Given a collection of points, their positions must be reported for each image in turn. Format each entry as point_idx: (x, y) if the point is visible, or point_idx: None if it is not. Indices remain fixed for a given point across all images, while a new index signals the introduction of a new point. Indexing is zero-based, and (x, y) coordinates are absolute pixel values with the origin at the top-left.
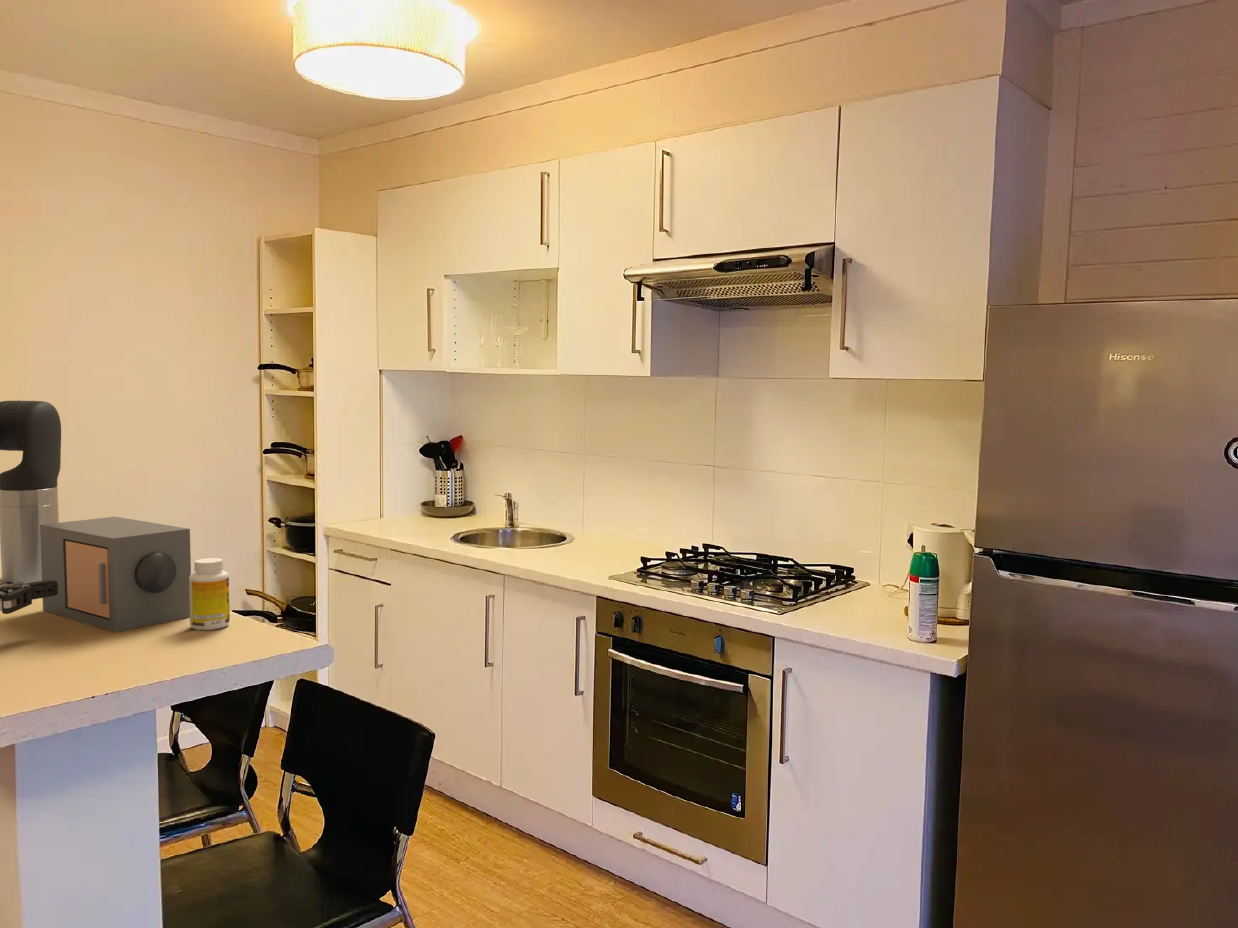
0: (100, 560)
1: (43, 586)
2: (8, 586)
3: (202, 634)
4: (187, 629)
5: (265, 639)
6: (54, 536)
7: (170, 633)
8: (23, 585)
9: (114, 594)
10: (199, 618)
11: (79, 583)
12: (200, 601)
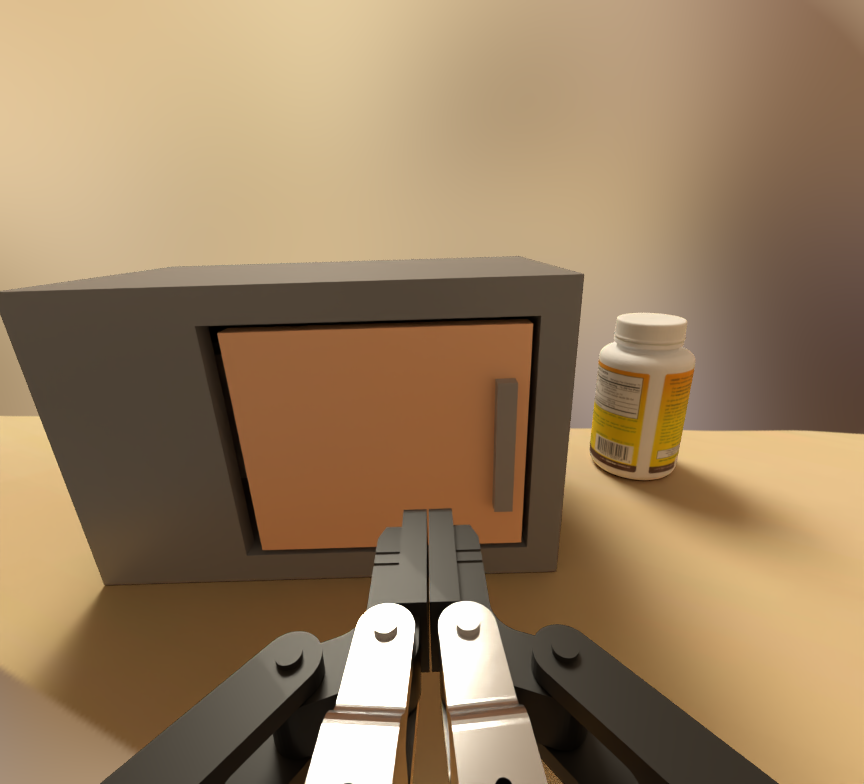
0: (481, 372)
1: (483, 567)
2: (535, 752)
3: (702, 487)
4: (631, 486)
5: (806, 454)
6: (126, 326)
7: (654, 513)
8: (481, 638)
9: (562, 470)
10: (670, 455)
11: (333, 470)
12: (679, 417)
